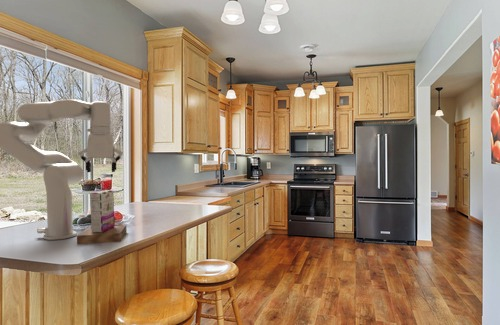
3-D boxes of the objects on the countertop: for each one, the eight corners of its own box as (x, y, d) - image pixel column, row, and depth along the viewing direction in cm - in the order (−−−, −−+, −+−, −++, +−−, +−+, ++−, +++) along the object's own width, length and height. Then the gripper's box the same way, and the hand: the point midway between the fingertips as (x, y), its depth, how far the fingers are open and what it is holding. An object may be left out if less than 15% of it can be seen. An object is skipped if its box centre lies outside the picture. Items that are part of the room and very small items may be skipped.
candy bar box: (104, 227, 147) (103, 190, 147) (115, 227, 147) (114, 190, 147) (90, 232, 136) (89, 192, 136) (102, 232, 136) (101, 192, 135)
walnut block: (77, 245, 132) (76, 235, 131) (88, 236, 147) (88, 227, 147) (119, 243, 135) (119, 233, 135) (126, 234, 150) (126, 225, 150)
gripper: (75, 130, 135) (76, 172, 135) (120, 131, 138) (121, 172, 139) (81, 131, 142) (81, 171, 142) (124, 132, 145) (124, 171, 146)
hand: (101, 171), depth 140 cm, fingers open, 9 cm apart
